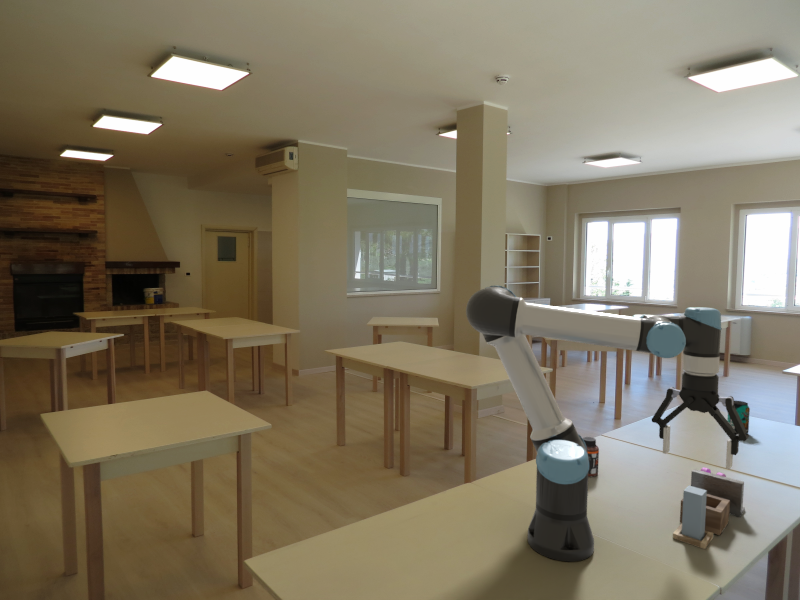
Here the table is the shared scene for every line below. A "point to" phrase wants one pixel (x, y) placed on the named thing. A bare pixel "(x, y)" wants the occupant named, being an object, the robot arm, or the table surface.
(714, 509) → the brown wooden box
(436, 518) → the table surface
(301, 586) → the table surface
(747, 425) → the beverage can
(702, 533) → the light blue square peg
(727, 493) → the backstop
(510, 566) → the table surface
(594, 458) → the supplement bottle
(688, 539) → the stand
